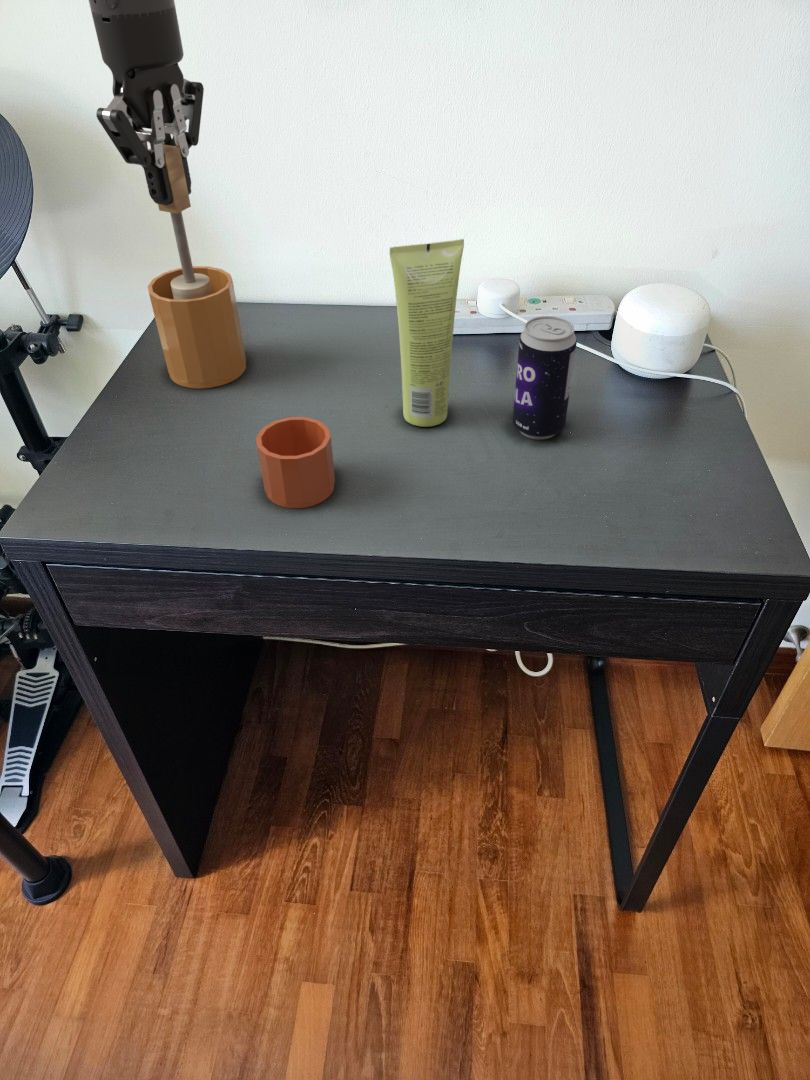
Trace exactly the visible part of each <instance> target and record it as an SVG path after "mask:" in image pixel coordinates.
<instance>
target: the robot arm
mask: <svg viewBox="0 0 810 1080" xmlns="http://www.w3.org/2000/svg"><path fill="white" fill-rule="evenodd" d="M88 4H89V8H90V12H91V17H92V21H93V26H94V29H95V34H96V39H97V42H98V46H99V51H100V54H101V55H100V56H101V60H102V62H103V63H104V64H105V65H106V66H107V68H109V70H110V71H111V74H112V95H113V98H112V100H111V101H110V102H109V104H108V105H107V107H98V109H97V110H96V113H95V115H96V119H97V120H98V122H99V124H100V125H101V127H102V128H103V130H104V131H105V133H106V134H107V136H108V137H109V139H110V140H111V142H112V144H113V145H114V146H115V148H116V150H117V151H118V153H119V154H120V156H121V157H122V159H123V160H124V162H125V163H126V164H129V165H138V166H141V167H142V169H143V172H144V176H145V181H146V184H147V189H148V195H149V197H150V198H151V199H152V201H153V202H154V203H155V204H157V205H158V204H162V205H169V204H171V203H172V202H173V197H172V192H171V188H170V183H169V178H168V173H167V168H166V166H164V154H163V146H162V144H164V145H170V146H177V147H180V153H181V158H182V163H183V168H184V173H185V179H186V184H187V189H188V194H189V195H191V193H192V179H191V173H190V168H189V162H188V156H189V153H190V148H192V146H194V147H196V146H197V145H198V144H199V140H200V130H201V119H202V112H203V111H202V110H203V100H204V91H205V90H204V85H203V83H202V82H199V81H191V80H189V79H186V78H185V77H184V74H183V72H182V69H181V68H180V66H179V63H180V62H181V61H182V60H183V58H184V55H185V54H184V48H183V43H182V38H181V37H182V36H181V31H180V25H179V20H178V14H177V7H176V2H175V0H88ZM187 120H188V127H187V122H186V121H187ZM145 129H149V130H145ZM148 143H149V145H150V149H151V153H148V149H149V147H148Z"/></svg>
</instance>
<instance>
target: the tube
mask: <svg viewBox="0 0 810 1080" xmlns="http://www.w3.org/2000/svg"><path fill="white" fill-rule="evenodd" d="M464 247H465V239H464V238H458V239H450V240H443V241H435V242H427V243H415V244H406V245H405V244H404V245H395V246H389V259H390V264H391V270H392V277H393V284H394V293H395V301H396V313H397V314H396V315H397V325H398V337H399V350H400V351H399V353H400V367H401V390H402V391H401V393H402V413H403V418H404V420H405V421H406V423H408V424H410V425H413V426H417V427H422V428H423V427H424V428H429V427H434V426H437V425H440V424H442V423H444V422H445V421H446V420H447V417H448V410H449V409H448V408H449V407H448V406H449V392H450V391H449V389H450V375H451V362H452V351H453V350H452V349H453V338H454V327H455V316H456V305H457V296H458V288H459V280H460V272H461V265H462V260H463V255H464Z"/></svg>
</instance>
